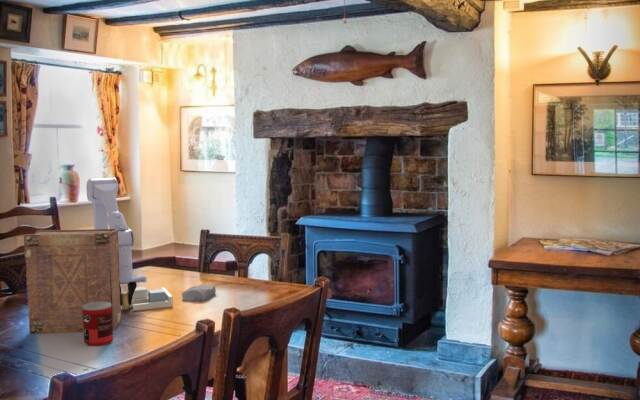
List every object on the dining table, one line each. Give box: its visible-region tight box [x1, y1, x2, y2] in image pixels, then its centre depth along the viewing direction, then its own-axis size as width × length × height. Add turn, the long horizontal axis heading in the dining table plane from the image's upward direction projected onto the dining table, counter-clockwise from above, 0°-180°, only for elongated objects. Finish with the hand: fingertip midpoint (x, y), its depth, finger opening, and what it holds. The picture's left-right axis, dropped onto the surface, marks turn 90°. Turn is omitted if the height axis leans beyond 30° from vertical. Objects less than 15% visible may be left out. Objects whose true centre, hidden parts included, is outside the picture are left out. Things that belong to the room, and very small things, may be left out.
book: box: [23, 228, 122, 334], centre depth 203 cm, size 25×9×30 cm, turn 91°
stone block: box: [181, 284, 217, 302], centre depth 241 cm, size 12×5×10 cm
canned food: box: [82, 301, 114, 347], centre depth 189 cm, size 8×8×11 cm
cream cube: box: [132, 286, 148, 299], centre depth 235 cm, size 5×5×5 cm
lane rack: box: [129, 287, 174, 312], centre depth 232 cm, size 15×13×4 cm
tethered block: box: [121, 288, 166, 311], centre depth 228 cm, size 5×14×6 cm, turn 113°
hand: (125, 304), depth 226 cm, fingers closed on tethered block, 2 cm apart
